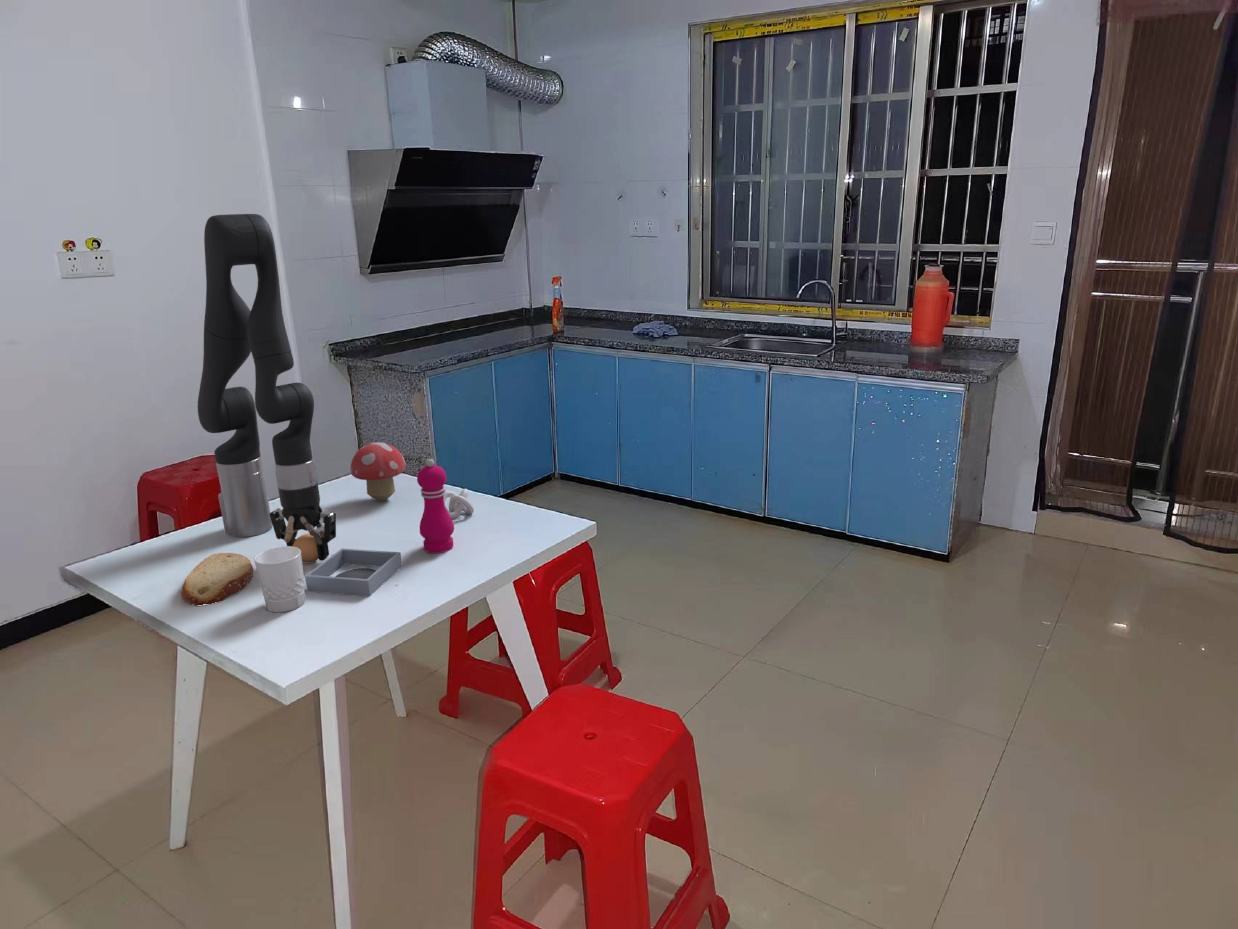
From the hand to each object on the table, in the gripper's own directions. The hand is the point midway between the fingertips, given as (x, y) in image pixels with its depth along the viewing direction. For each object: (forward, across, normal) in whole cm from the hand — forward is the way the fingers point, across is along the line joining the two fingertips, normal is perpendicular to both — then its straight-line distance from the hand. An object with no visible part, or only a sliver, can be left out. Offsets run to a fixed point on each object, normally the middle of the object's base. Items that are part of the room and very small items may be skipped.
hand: (309, 558), depth 164 cm
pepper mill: (+1, +24, +11) cm, 26 cm away
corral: (+1, +14, -6) cm, 15 cm away
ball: (-2, 0, 0) cm, 2 cm away
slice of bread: (+1, -14, -11) cm, 18 cm away
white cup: (+1, +6, -18) cm, 19 cm away
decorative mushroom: (+1, -3, +37) cm, 37 cm away
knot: (+1, +20, +30) cm, 36 cm away
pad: (+1, +14, -6) cm, 15 cm away
